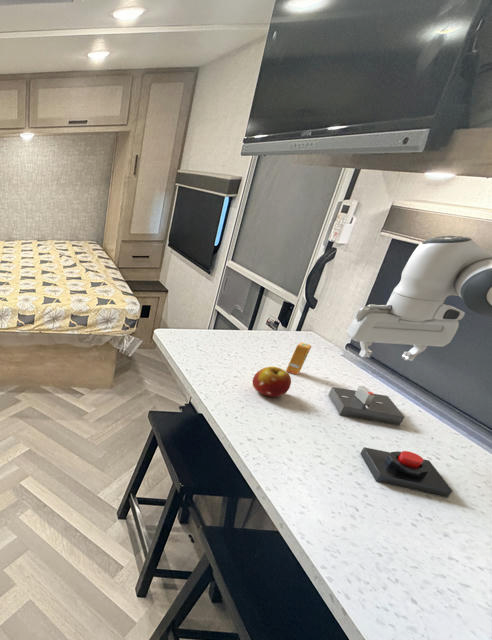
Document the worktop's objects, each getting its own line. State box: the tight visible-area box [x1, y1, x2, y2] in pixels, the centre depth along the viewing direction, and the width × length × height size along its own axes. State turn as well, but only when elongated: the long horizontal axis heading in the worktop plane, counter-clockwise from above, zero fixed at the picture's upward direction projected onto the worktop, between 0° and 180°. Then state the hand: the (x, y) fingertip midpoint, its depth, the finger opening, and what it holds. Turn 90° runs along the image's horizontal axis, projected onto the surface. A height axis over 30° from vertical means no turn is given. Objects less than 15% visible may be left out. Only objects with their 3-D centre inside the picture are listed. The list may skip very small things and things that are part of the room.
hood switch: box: [359, 446, 453, 499], centre depth 89 cm, size 12×10×4 cm
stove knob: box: [355, 385, 375, 405], centre depth 110 cm, size 5×1×3 cm, turn 167°
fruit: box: [252, 366, 292, 398], centre depth 118 cm, size 10×9×8 cm
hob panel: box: [327, 386, 406, 427], centre depth 111 cm, size 13×11×3 cm
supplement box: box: [285, 342, 312, 376], centre depth 129 cm, size 3×3×10 cm
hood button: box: [398, 450, 424, 468], centre depth 88 cm, size 4×4×2 cm
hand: (385, 358), depth 100 cm, fingers open, 8 cm apart
